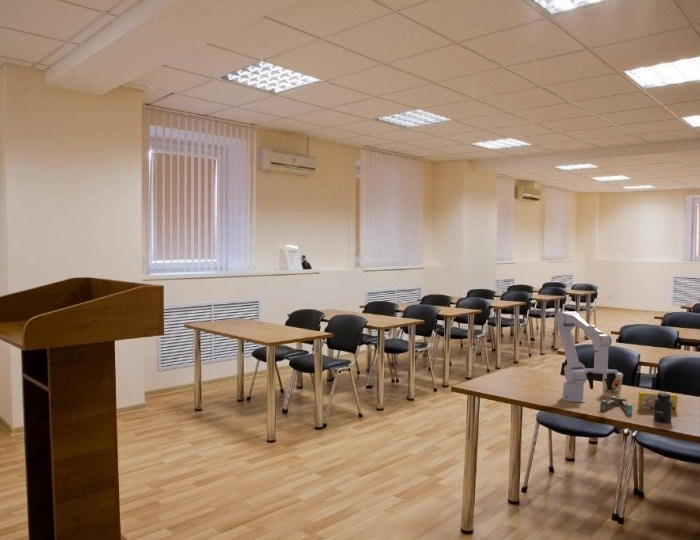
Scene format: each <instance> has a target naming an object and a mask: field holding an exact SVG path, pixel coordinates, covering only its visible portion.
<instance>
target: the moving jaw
mask: <svg viewBox="0 0 700 540" xmlns="http://www.w3.org/2000/svg"><path fill="white" fill-rule="evenodd" d="M615 407H616V405H615V401H614V400H610V399H608V400H605V399H602V400H600V410H599V411H601V412H606V411H609V410H611V409H613V408H615Z"/></svg>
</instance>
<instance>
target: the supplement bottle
mask: <svg viewBox="0 0 700 540" xmlns="http://www.w3.org/2000/svg"><path fill="white" fill-rule="evenodd" d="M669 394H670V393H665V392H658V396H657V397H658V399H656V400H655V403H654V411H653V420H654V421H655V422H658V423H661V424H670V423H671V422H672V419H673V418H672V414H673V412H672V402H671V401H670V395H669Z"/></svg>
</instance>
